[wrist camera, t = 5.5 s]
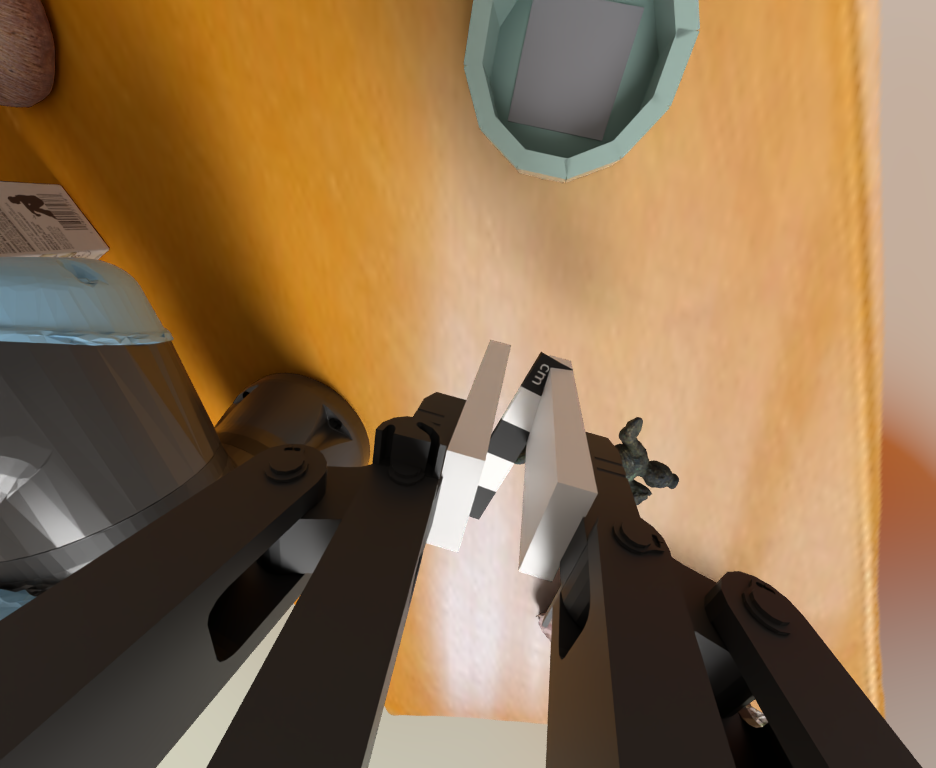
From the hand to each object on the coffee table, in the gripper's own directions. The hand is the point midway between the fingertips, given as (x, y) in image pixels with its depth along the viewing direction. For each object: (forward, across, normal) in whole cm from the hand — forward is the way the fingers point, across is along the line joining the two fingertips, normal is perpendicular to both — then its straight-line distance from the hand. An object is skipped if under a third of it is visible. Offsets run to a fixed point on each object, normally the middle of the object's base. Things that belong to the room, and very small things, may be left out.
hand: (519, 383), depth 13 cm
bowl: (+16, -1, +13) cm, 21 cm away
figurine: (0, -1, -2) cm, 2 cm away
